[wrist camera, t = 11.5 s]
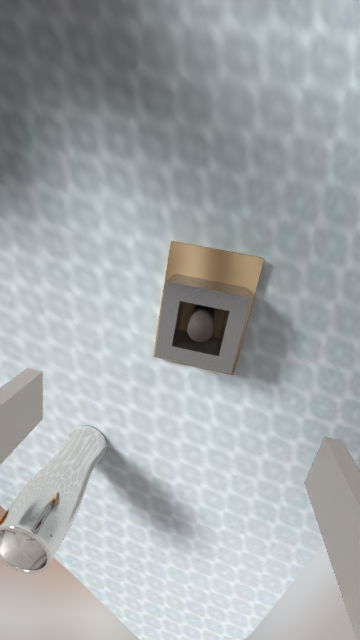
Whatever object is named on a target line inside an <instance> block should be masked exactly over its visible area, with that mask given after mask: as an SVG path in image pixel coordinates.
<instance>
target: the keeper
mask: <svg viewBox="0 0 360 640" xmlns="http://www.w3.org/2000/svg"><path fill="white" fill-rule="evenodd" d="M263 262H264V259H263V258H260V257H255V256H250V255H244V254H239V253H234V252H228V251H223V250H218V249H212V248H207V247H202V246H196V245H191V244H186V243H180V242H175V241H171V245H170V251H169V258H168V264H167V271H166V277H165V284H164V290H163V297H164V291H165V285H166V281H167V280H168V279H169V278H170V277H171V276H172V275H173V274H180V275H185V276H190V277H195V278H201V279H206V280H211V281H216V282H221V283H226V284H231V285H236V286H241V287H246V288H247V290H248V292H249V295H250V297H251V300H250V304H249V308H248V311H247V315H246V319H245V323H244V327H243V330H242V334H241V338H240V342H239V346H238V349H237V353H236V357H235V361H234V365H233V368H232V372H231V375H233V373H234V370H235V366H236V362H237V359H238V355H239V351H240V347H241V344H242V340H243V336H244V333H245V329H246V325H247V321H248V318H249V314H250V310H251V307H252V303H253V299H254V295H255V292H256V288H257V284H258V281H259V277H260V273H261V269H262V266H263ZM163 297H162V303H161V309H160V316H159V322H158V329H157V335H156V342H155V348H154V355H153V357H154V356H155V349H156V343H157V336H158V330H159V323H160V317H161V310H162V304H163ZM225 312H226V310H222V309H217V308H212V307H207V306H202V305H198V304H193V303H188V302H184V305H183V311H182V316H181V322H180V327H179V330H184V331H187V332H188V335H189V337H190V338H191V339H192V340H194V341H197V342H204V341H207V340H208V339H209V338H210V337H211V336H212V337H217V338H219V337H220V333H221V329H222V324H223V320H224V316H225ZM155 358H157V357H155ZM160 359H162V358H160ZM164 360H166V359H164ZM168 361H171V360H168ZM173 362H175V361H173ZM177 363H180V362H177ZM182 364H184V363H182ZM186 365H189V364H186ZM191 366H193V365H191ZM195 367H198V366H195ZM200 368H202V367H200ZM204 369H207V368H204ZM208 370H211V369H208ZM213 371H216V370H213ZM217 372H220V371H217ZM222 373H225V372H222ZM226 374H229V373H226Z"/></svg>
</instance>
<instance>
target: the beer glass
mask: <svg viewBox="0 0 360 640" xmlns="http://www.w3.org/2000/svg"><path fill="white" fill-rule="evenodd" d="M106 450H107V442H106V439H105V437H104V436H103V435H102V433H101V432H99V431H98V430H97V429H95V428H93V427H90V426H78V427H76V428H74V429H73V430H72V431H71V432H70V433H69V435H68V437H67V439H66V442H65V444H64V445H63V447H62V449H61V450H60V451H59V453H58V454H57V455H56V456H55V457H54V458H53V459H52V460H51V461H50V462H49V463H48V464H46V465H45V466H44V467H43V468H42V469H41V470H40V471H39V472H38V473H37V474H36V475H35V476H34V477H33V478H32V479H31V480H30V481H29V482H28V483H27V485H26V486H25V487H24V488H23V490H22V491H21V492H20V493H19V495H18V496H17V497H16V499H15V500H14V501H13V503H12V504H11V506H10V507H9V509H8V510H7V512H6V513H5V515H4V516H3V518H2V519H1V521H0V560H1V561H2V562H3V563H4V564H6V565H7V566H9V567H11V568H13V569H15V570H18V571H21V572H25V573H38V572H42V571H44V570H45V569H46V568H47V567H48V566H49V564H50V562H51V560H52V558H53V557H54V555H55V553H56V552H57V550H58V548H59V547H60V545H61V543H62V542H63V540H64V538H65V537H66V535H67V533H68V531H69V529H70V527H71V526H72V524H73V522H74V519H75V517H76V515H77V513H78V511H79V508H80V505H81V503H82V500H83V497H84V494H85V491H86V488H87V485H88V481H89V479H90V476H91V473H92V471H93V469H94V467H95V466H96V464H97V463H98V462H99V460H100V459H101V458H102V457H103V455H104V454H105V452H106Z"/></svg>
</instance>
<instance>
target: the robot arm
mask: <svg viewBox="0 0 360 640" xmlns="http://www.w3.org/2000/svg"><path fill="white" fill-rule="evenodd" d="M42 419H43V372H41V371H37V370H33V369H28V368H27V369H26V370H24V371H23V372H22V373H20V374H19V375H17V376H16V377H15V378H13V379H12V380H11V381H9V382H8V383H7V384H5V385H4V386H2V387H1V388H0V464H1V463H2V462H3V461H4V460H5V459H6V458H7V457H8V456H9V455H10V454H11V452H12V451H13V450H14V449H15V448H16V447H17V446H18V445H19V444H20V443H21V442H22V441H23V439H24V438H25V437H26V436H27V435H28V434H29V433H30V432H31V431H32V430H33V429H34V428H35V426H36V425H37V424H38V423H39V422H40V421H41V420H42ZM305 486H306V489H307V492H308V495H309V498H310V501H311V504H312V507H313V510H314V513H315V516H316V519H317V522H318V525H319V528H320V531H321V534H322V537H323V540H324V543H325V546H326V549H327V552H328V555H329V558H330V561H331V564H332V567H333V570H334V573H335V576H336V579H337V582H338V585H339V588H340V591H341V594H342V597H343V600H344V603H345V606H346V609H347V612H348V615H349V618H350V621H351V624H352V627H353V630H354V633H355V636H356V639H357V640H360V470H359V469H358V467H357V465H356V463H355V462H354V460H353V458H352V456H351V455H350V453H349V451H348V450H347V448H346V446H345V444H344V443H343V441H341V440H337V439H332V438H328V437H324V439H323V442H322V444H321V446H320V449H319V451H318V453H317V455H316V458H315V460H314V462H313V464H312V467H311V469H310V471H309V474H308V476H307V478H306V480H305Z"/></svg>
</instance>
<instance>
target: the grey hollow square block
mask: <svg viewBox="0 0 360 640" xmlns="http://www.w3.org/2000/svg"><path fill="white" fill-rule="evenodd" d="M250 300H251V297H250V295H249V292H248V290H247V288H246V287H241V286H236V285H231V284H226V283H221V282H216V281H211V280H206V279H201V278H195V277H190V276H185V275H180V274H173V275H172V276H171V277H170V278H169V279H168V280H167V281H166V285H165V291H164V297H163V304H162V310H161V317H160V323H159V330H158V336H157V343H156V349H155V356H154V357H157V358H162V359H166V360H171V361H175V362H180V363H184V364H189V365H193V366H198V367H202V368H207V369H211V370H216V371H220V372H225V373H229V374H231V372H232V368H233V365H234V361H235V357H236V353H237V349H238V346H239V342H240V338H241V334H242V330H243V327H244V323H245V319H246V315H247V311H248V308H249V304H250ZM184 302H188V303H193V304H198V305H202V306H207V307H212V308H217V309H222V310H226V312H225V316H224V320H223V324H222V329H221V333H220V337H219V338H217V337H212V336H211V337H210V338H209V339H208V340H207V341H204V342H197V341H194V340H192V339H191V338H190V337H189V335H188V332H187V331H184V330H179V327H180V322H181V316H182V311H183V305H184Z"/></svg>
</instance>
